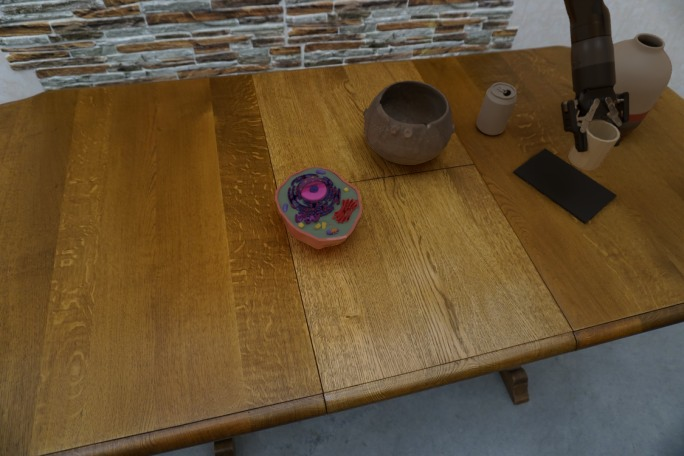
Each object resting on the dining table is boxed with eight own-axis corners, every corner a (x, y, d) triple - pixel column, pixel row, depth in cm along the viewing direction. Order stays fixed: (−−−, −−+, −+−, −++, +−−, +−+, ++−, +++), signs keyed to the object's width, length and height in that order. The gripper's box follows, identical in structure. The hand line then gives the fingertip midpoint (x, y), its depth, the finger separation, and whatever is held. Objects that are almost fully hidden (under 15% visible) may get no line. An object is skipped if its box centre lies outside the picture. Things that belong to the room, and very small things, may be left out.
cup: (606, 161, 97) (626, 132, 91) (588, 175, 95) (608, 146, 88) (579, 144, 100) (596, 114, 94) (561, 157, 98) (578, 128, 91)
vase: (567, 134, 120) (612, 52, 101) (569, 96, 130) (610, 15, 111) (635, 149, 117) (695, 68, 99) (632, 110, 127) (685, 29, 108)
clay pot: (411, 112, 123) (420, 63, 111) (462, 160, 113) (479, 110, 101) (345, 139, 116) (347, 89, 104) (393, 193, 106) (402, 144, 94)
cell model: (297, 275, 92) (295, 242, 83) (269, 203, 103) (263, 167, 94) (374, 250, 96) (380, 216, 87) (339, 184, 107) (340, 147, 98)
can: (499, 141, 118) (514, 102, 108) (471, 130, 120) (484, 92, 110) (507, 124, 122) (523, 86, 112) (480, 115, 124) (493, 76, 114)
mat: (615, 196, 107) (617, 195, 107) (584, 224, 102) (586, 222, 102) (544, 149, 116) (545, 148, 116) (512, 172, 111) (513, 170, 111)
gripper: (574, 64, 85) (580, 154, 88) (639, 55, 88) (644, 142, 91) (548, 73, 93) (555, 155, 95) (609, 64, 95) (614, 144, 98)
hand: (598, 148), depth 93 cm, fingers closed on cup, 7 cm apart
